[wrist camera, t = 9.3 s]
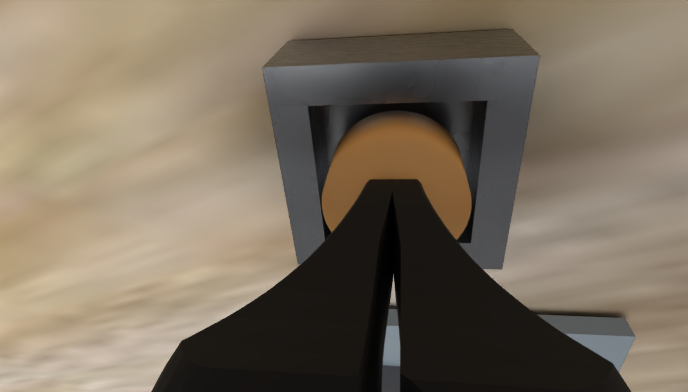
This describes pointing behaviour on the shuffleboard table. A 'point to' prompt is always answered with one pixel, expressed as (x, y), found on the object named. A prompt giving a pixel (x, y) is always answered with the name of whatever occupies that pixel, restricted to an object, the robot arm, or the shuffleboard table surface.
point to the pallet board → (592, 332)
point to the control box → (405, 95)
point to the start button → (399, 165)
